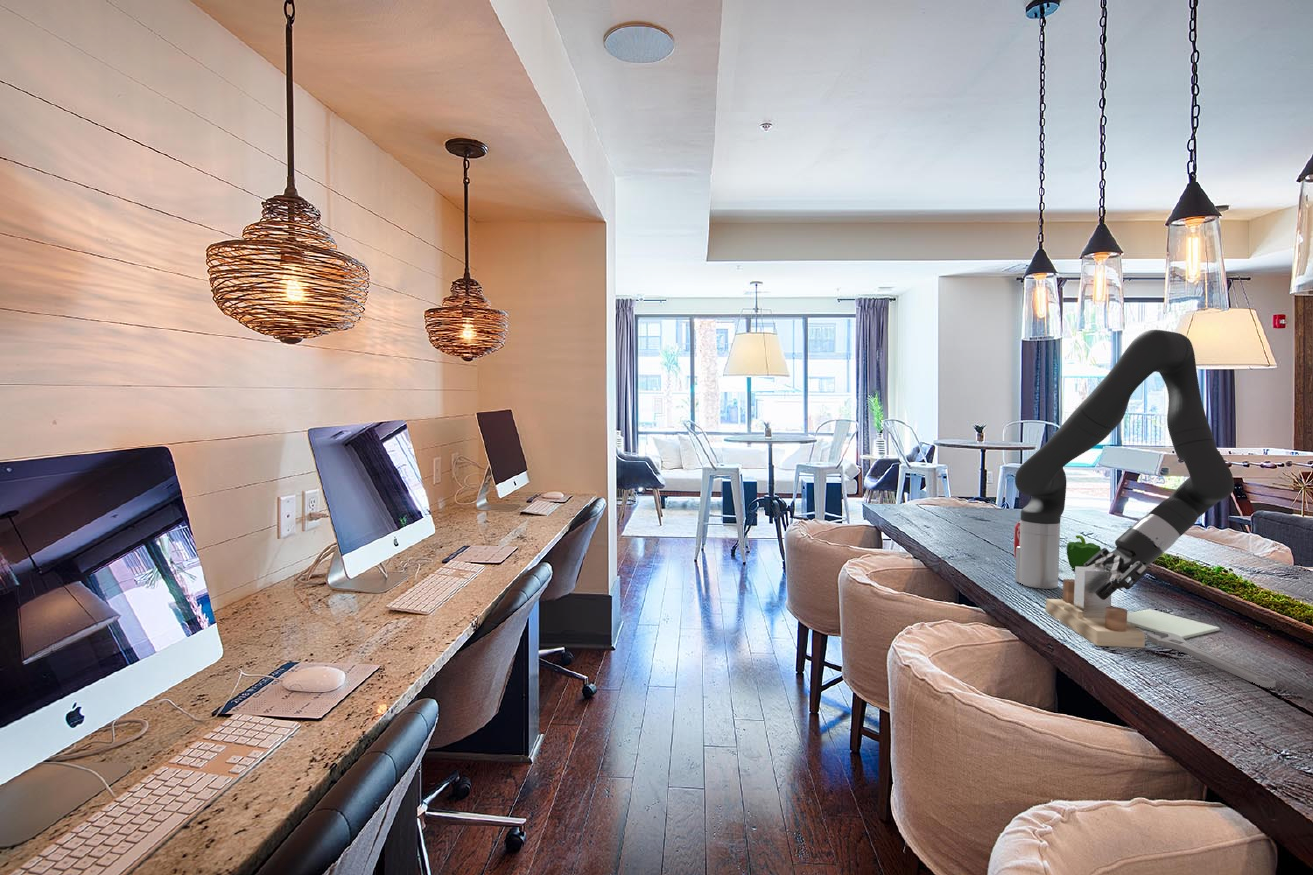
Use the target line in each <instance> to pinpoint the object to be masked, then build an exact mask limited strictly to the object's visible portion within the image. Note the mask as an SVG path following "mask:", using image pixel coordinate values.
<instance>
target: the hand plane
mask: <svg viewBox="0 0 1313 875" xmlns="http://www.w3.org/2000/svg"><path fill="white" fill-rule="evenodd" d="M1074 587H1075V578H1073V579H1072V578H1071V579H1069V578H1063V579H1062V598H1060V599H1059V598H1045V612H1046V611H1047V612H1048V613H1047V612H1046V613H1047V614H1049V615H1050V614H1051V615H1050V616H1052V617H1053V618H1055V619H1056V618H1057V619H1056V620H1058V619H1059V620H1060V621H1059V620H1058V621H1059V622H1061V623H1062V624H1064V625H1065V626H1066V627H1068V626H1069V627H1068V628H1069V629H1071V630H1072V631H1073V632H1075V633H1077V634H1079V635H1080V636H1082V637H1083V638H1084V639H1086V640H1087V641H1089V642H1091V643H1092V644H1094V646H1096V647H1097V646H1099V647H1116V648H1117V647H1120V648H1121V647H1122V648H1146V632H1144V631H1143V630H1141V629H1139V627H1136V626H1132V625H1130V624H1129V623H1127V613H1128V610H1127V609H1125V608H1123V607H1117V606H1111V607H1106V614H1105V618H1097V617H1083V611H1081V610H1080V609H1078V608H1076V607H1075V606H1074Z"/></svg>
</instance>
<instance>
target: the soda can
mask: <svg viewBox="0 0 1313 875" xmlns="http://www.w3.org/2000/svg"><path fill="white" fill-rule="evenodd" d="M1016 522H1017V523H1016V525H1015V527H1014V541H1013V556H1014V557H1013V558H1015V559H1016V547H1018V546H1020V522H1021V519H1020V520H1017V521H1016Z"/></svg>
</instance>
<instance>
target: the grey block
mask: <svg viewBox="0 0 1313 875" xmlns="http://www.w3.org/2000/svg"><path fill="white" fill-rule="evenodd" d="M1111 576H1112V573H1111V571H1109V570H1107V569H1105V568H1103V567H1079V566H1075V570H1074V580H1075V587H1074V606H1075V607H1076V608H1078V609H1080V610H1081V611H1083V617H1097V618H1105V614H1106V607H1112V594H1111V595H1110V596H1109V597H1108V598H1106V599H1105V600H1102V599H1100V598H1099V597H1098V596H1097V595H1096V593H1095V592H1096V591H1097V590H1098V589H1099V588H1100V587H1101V586H1102V585H1103V584H1105V583H1106V582H1107V581H1110V578H1111ZM1110 582H1111V581H1110Z"/></svg>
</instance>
